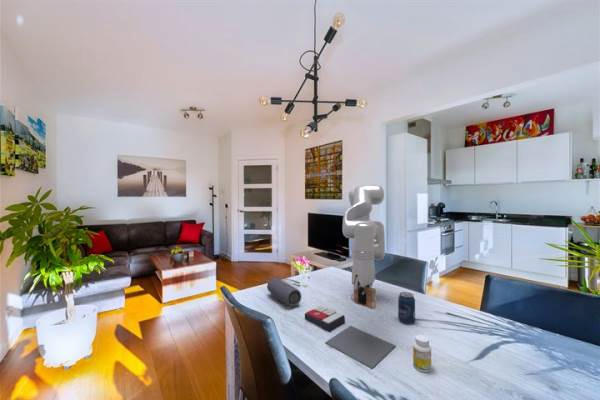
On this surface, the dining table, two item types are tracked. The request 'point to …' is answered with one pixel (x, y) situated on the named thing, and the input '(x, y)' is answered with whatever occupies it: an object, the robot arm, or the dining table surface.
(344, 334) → the mat
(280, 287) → the bluetooth speaker
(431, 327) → the dining table surface
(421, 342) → the supplement bottle
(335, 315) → the red and cream box
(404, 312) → the soda can
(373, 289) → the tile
